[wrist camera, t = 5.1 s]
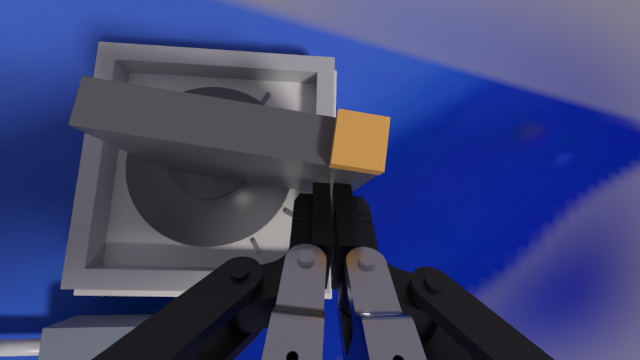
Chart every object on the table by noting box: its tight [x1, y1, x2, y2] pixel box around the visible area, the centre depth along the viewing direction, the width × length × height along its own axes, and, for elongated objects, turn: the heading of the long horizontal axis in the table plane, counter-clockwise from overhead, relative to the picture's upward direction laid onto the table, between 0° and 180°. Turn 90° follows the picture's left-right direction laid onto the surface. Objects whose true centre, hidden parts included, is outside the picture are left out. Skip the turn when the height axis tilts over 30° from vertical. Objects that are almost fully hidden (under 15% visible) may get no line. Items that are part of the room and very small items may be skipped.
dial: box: [68, 76, 390, 247], centre depth 14 cm, size 12×9×9 cm
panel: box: [60, 42, 337, 299], centre depth 18 cm, size 14×14×3 cm
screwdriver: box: [0, 314, 153, 360], centre depth 17 cm, size 14×3×3 cm, turn 90°
